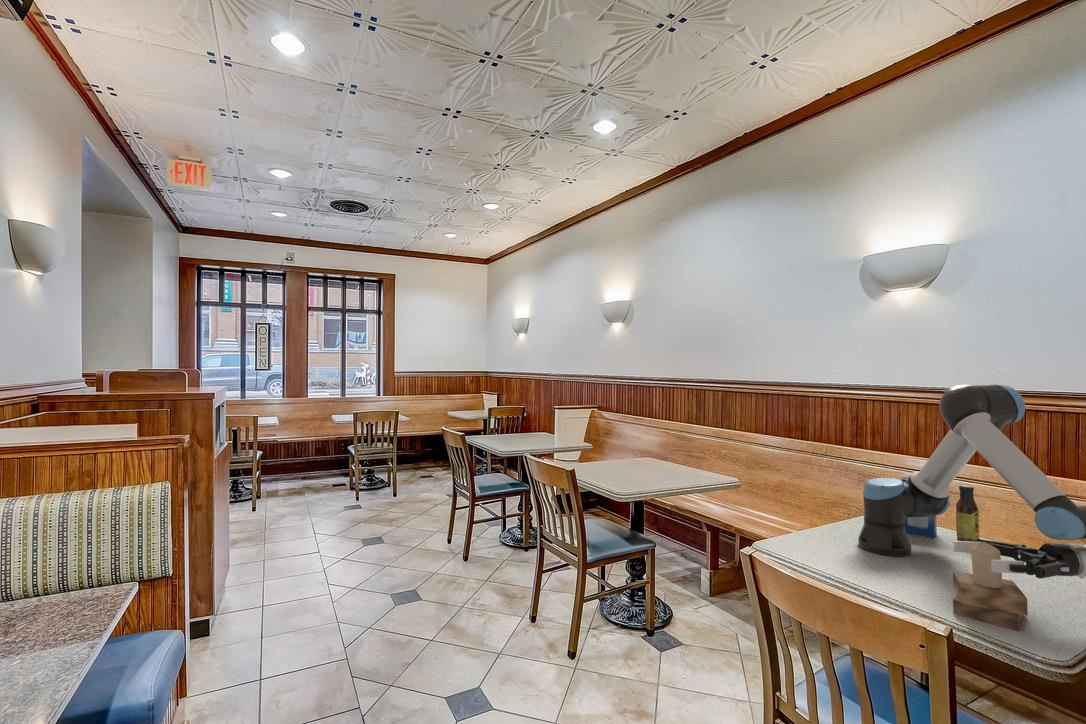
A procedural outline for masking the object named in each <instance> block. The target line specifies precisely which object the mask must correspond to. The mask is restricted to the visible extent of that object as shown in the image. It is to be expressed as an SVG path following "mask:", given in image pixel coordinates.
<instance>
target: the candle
mask: <svg viewBox="0 0 1086 724" xmlns="http://www.w3.org/2000/svg"><path fill="white" fill-rule="evenodd" d="M1001 557H1002V556H1001V555H1000V551H999V550H998V549H997V548H995V547H993V546H992V545H990V544H987V543H985V542H978V543H977V544H975V545H974V546H972V547H971V565H972V574H973V581H974V583H976V584H978V585H980V586H983V587H988V588H1001V587H1002V579H1003V574H1002V573H1000V572H993V571H992V570H991V560H1002V558H1001Z"/></svg>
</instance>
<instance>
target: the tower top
mask: <svg viewBox="0 0 1086 724" xmlns="http://www.w3.org/2000/svg"><path fill="white" fill-rule="evenodd" d="M952 585H953V586H952V587H953V589H954V590H955V593H956V595H958V597H959V599H960V601H961V603H962V604H966V605H971V606H976V607H982V608H987V609H993V610H998V611H1004V612H1009V613H1015V614H1020V615H1024V616H1025V617H1027V616H1029V615H1028V598H1027V597H1026V595H1025V593H1023V591H1022V590H1021V589H1020V588H1019V586H1018V585H1017V584H1016V583H1015V582H1014V581H1013V580H1011V579H1004V578H1002V587H1001V588H988V587H983V586H980V585H978V584H976V583H974V581H973V573H967V572H960V571H954V570H953V571H952Z"/></svg>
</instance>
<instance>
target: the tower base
mask: <svg viewBox="0 0 1086 724" xmlns="http://www.w3.org/2000/svg"><path fill="white" fill-rule="evenodd" d="M952 600H953V601H952V609H953V610H952V613H953V615H957V614H958V615H957V616H962V617H963V618H968V617H969V619H972V618H973V619H972V620H975V621H979V622H982V623H987V624H990V625H994V626H997V627H1001V628H1003V629H1004V628H1005V629H1008V630H1010V631H1011V630H1012V631H1015V632H1019V631H1020V628H1021V625H1022V623H1023V619H1024V616H1025V615H1020V614H1015V613H1009V612H1004V611H998V610H993V609H987V608H982V607H976V606H971V605H966V604H962V603H961V601H960V599H959V597H958V595H957V594H956V595H955V596H954V598H953V599H952Z"/></svg>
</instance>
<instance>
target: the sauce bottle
mask: <svg viewBox="0 0 1086 724" xmlns="http://www.w3.org/2000/svg"><path fill="white" fill-rule="evenodd" d="M958 490H959V499H958V500H957V502H956V504H955V506H956V507H955V509H956V510H955V520H956V521H955V522H956V523H955V524H956V528H955V529H956V538H957V539H956V541H971V542H977V539H980V516H979V515H980V514H979V508H978V506H977V503H976V501H975V499H974V491H975V487H974V486H972V485H966V484H959V486H958Z"/></svg>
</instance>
